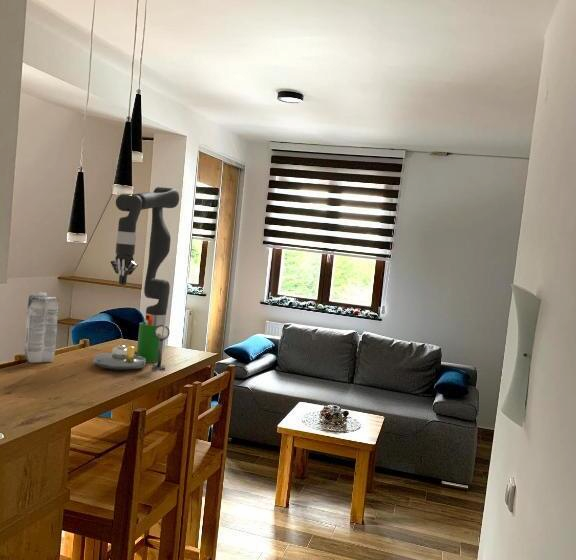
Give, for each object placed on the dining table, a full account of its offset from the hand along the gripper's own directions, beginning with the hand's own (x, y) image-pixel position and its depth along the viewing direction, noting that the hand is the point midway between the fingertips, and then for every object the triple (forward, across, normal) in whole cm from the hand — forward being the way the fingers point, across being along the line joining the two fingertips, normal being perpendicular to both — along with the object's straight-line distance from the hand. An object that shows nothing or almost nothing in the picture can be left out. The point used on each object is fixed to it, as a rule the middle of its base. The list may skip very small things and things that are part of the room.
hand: (122, 284), depth 258 cm
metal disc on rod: (+32, -20, -3) cm, 38 cm away
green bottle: (+32, -7, -12) cm, 35 cm away
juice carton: (+32, +18, +24) cm, 44 cm away
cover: (+28, -9, +7) cm, 30 cm away
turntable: (+30, -9, +8) cm, 33 cm away
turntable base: (+32, -9, +8) cm, 34 cm away
